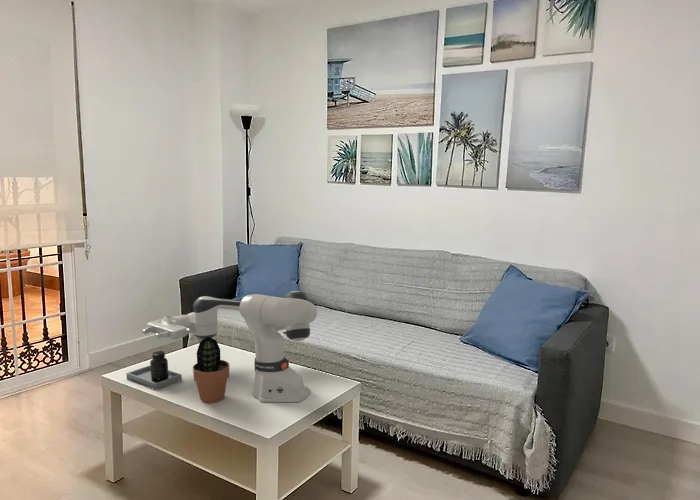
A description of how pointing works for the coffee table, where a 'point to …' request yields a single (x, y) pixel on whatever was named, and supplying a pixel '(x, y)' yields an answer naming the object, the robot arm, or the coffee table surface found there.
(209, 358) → the potted plant
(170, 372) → the grey serving tray
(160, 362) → the supplement bottle
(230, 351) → the coffee table surface
